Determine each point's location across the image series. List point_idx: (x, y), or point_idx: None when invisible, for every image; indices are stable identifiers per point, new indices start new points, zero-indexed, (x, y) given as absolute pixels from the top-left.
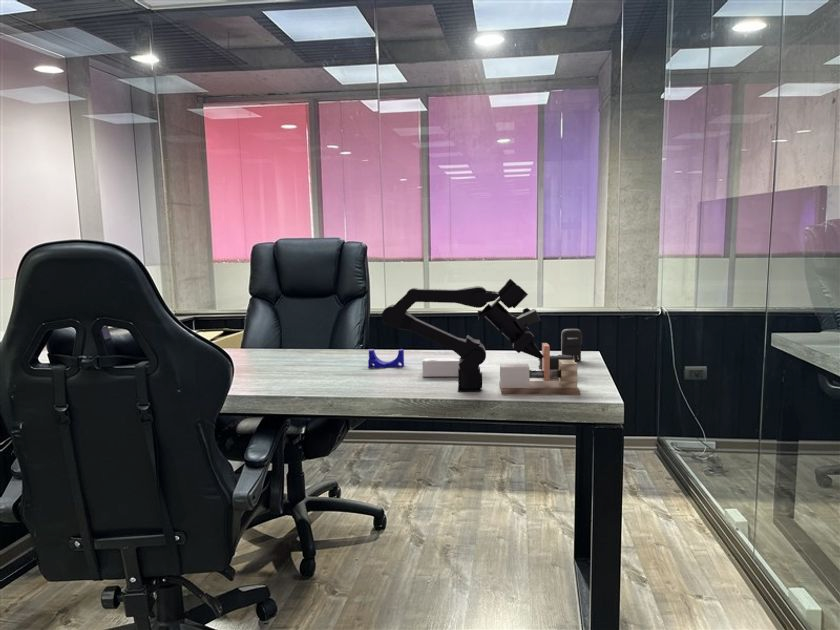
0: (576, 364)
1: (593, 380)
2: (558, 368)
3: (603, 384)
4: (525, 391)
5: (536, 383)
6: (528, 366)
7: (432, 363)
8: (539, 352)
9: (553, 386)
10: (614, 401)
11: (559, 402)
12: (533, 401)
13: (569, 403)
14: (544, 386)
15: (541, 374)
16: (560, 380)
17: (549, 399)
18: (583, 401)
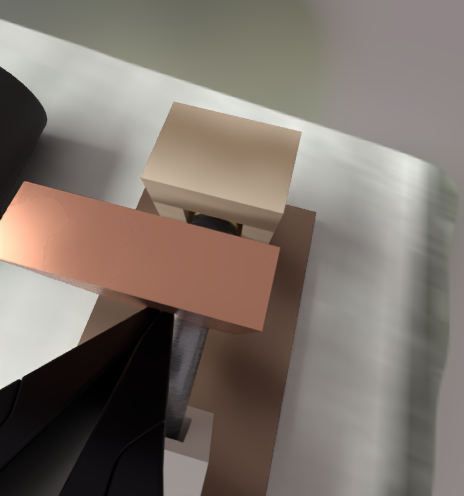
0: (299, 138)
1: (129, 96)
2: (11, 161)
3: (193, 93)
4: (270, 461)
5: None
6: (179, 460)
7: None
8: (170, 365)
9: None
10: (407, 157)
11: (414, 342)
12: (394, 460)
13: (430, 309)
14: None
15: (205, 341)
16: None
17: (365, 366)
18: (403, 247)
